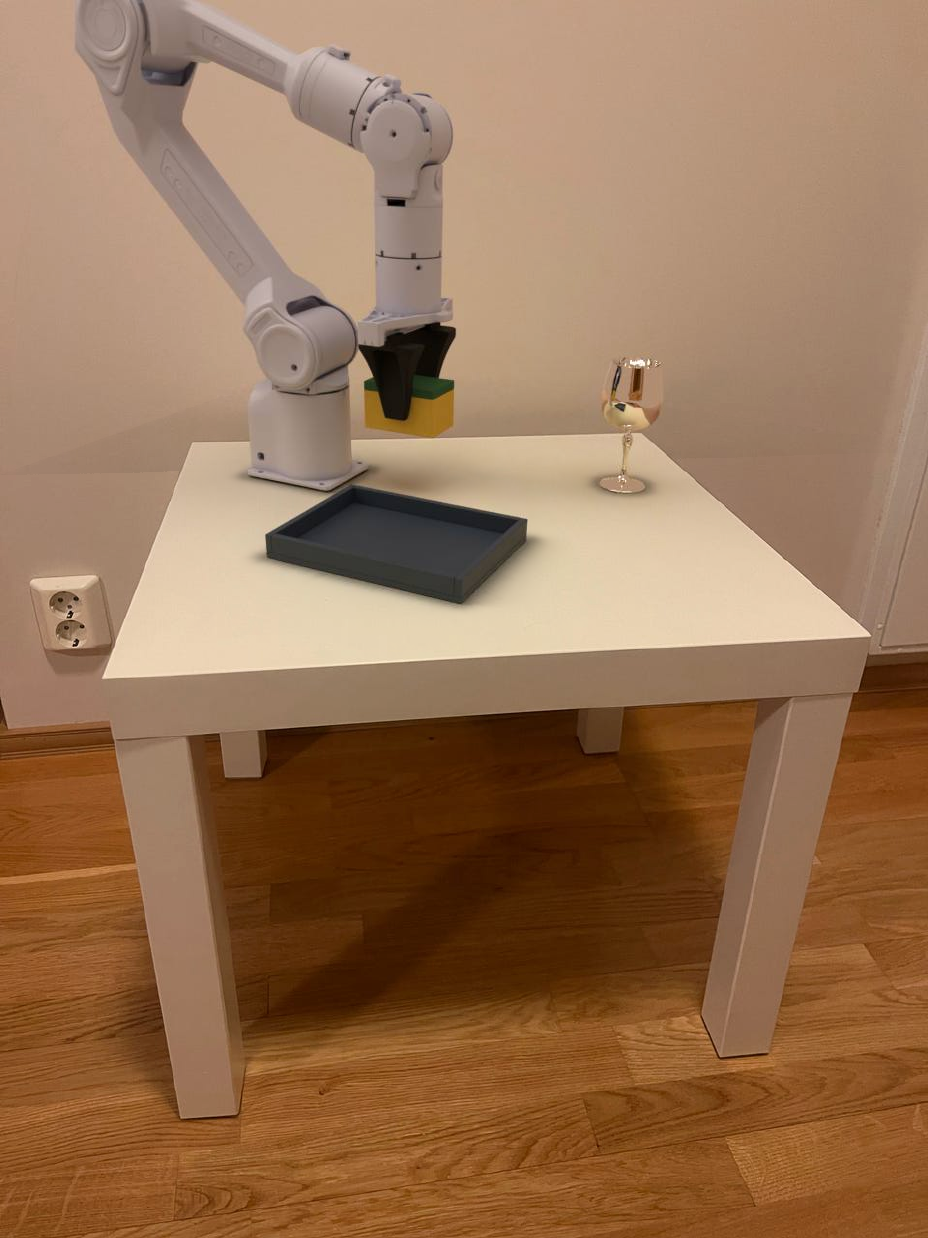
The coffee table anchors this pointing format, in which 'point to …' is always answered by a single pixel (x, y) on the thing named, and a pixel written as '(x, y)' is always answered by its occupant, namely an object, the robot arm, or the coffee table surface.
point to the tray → (399, 541)
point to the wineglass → (631, 407)
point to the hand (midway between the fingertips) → (408, 411)
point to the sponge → (415, 408)
